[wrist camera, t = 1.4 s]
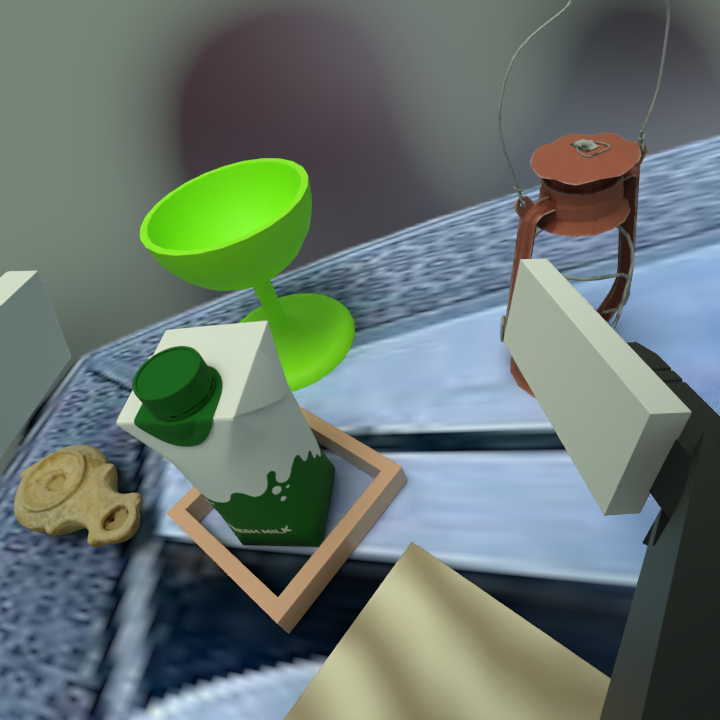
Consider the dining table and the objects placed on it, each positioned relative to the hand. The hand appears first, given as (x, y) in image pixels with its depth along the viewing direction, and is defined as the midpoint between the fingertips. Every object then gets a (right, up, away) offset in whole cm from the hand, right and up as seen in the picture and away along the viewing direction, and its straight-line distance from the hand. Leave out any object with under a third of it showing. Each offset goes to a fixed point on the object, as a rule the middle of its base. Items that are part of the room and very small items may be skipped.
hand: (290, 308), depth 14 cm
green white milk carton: (-4, -14, +29) cm, 32 cm away
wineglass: (-6, +1, +44) cm, 44 cm away
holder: (-4, -14, +29) cm, 32 cm away
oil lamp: (-23, -16, +33) cm, 43 cm away
